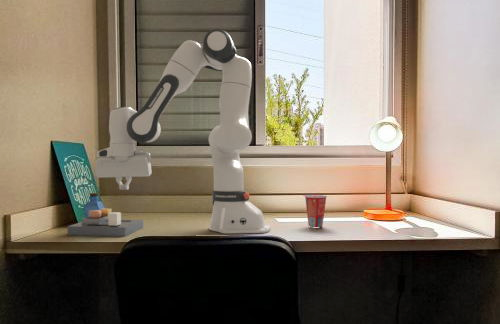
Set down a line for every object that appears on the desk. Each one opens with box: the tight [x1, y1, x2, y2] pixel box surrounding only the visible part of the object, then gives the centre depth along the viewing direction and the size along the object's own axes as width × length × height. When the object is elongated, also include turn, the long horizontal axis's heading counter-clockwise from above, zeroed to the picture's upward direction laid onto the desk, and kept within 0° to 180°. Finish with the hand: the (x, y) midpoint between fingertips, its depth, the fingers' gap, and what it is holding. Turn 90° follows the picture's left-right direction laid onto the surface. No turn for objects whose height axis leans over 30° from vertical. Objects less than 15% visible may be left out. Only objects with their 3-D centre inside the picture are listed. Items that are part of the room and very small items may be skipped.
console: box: [67, 216, 144, 237], centre depth 130 cm, size 20×16×5 cm
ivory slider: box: [108, 211, 122, 226], centre depth 125 cm, size 3×3×4 cm
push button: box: [89, 210, 101, 219], centre depth 129 cm, size 4×4×2 cm
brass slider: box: [100, 207, 113, 216], centre depth 135 cm, size 3×3×4 cm
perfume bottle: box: [82, 192, 106, 218], centre depth 146 cm, size 6×6×12 cm
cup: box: [301, 194, 328, 228], centre depth 140 cm, size 9×8×12 cm
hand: (124, 189), depth 134 cm, fingers closed
